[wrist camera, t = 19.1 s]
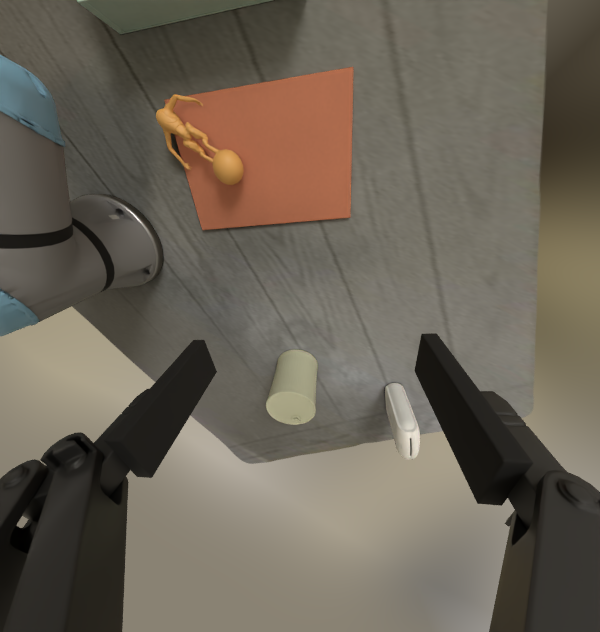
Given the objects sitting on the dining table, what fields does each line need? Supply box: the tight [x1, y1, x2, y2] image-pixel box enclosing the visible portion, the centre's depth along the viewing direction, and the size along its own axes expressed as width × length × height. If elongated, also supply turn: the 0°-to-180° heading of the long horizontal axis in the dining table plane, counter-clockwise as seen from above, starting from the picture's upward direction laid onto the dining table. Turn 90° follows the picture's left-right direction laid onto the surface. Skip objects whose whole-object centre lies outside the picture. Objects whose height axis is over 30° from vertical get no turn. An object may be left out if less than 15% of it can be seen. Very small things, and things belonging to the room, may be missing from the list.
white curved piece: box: [385, 383, 420, 459], centre depth 46 cm, size 10×4×12 cm, turn 13°
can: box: [266, 350, 318, 425], centre depth 45 cm, size 9×9×12 cm
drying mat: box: [165, 67, 353, 230], centre depth 31 cm, size 24×16×1 cm, turn 95°
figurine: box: [156, 94, 244, 185], centre depth 29 cm, size 8×6×12 cm
